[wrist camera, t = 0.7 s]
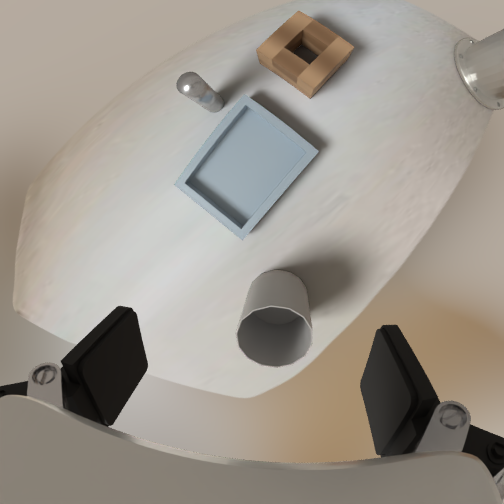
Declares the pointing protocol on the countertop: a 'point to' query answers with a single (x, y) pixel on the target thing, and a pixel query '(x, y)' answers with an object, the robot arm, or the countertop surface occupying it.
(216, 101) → the pin
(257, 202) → the tray
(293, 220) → the countertop surface
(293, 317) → the cup
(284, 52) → the bore block
